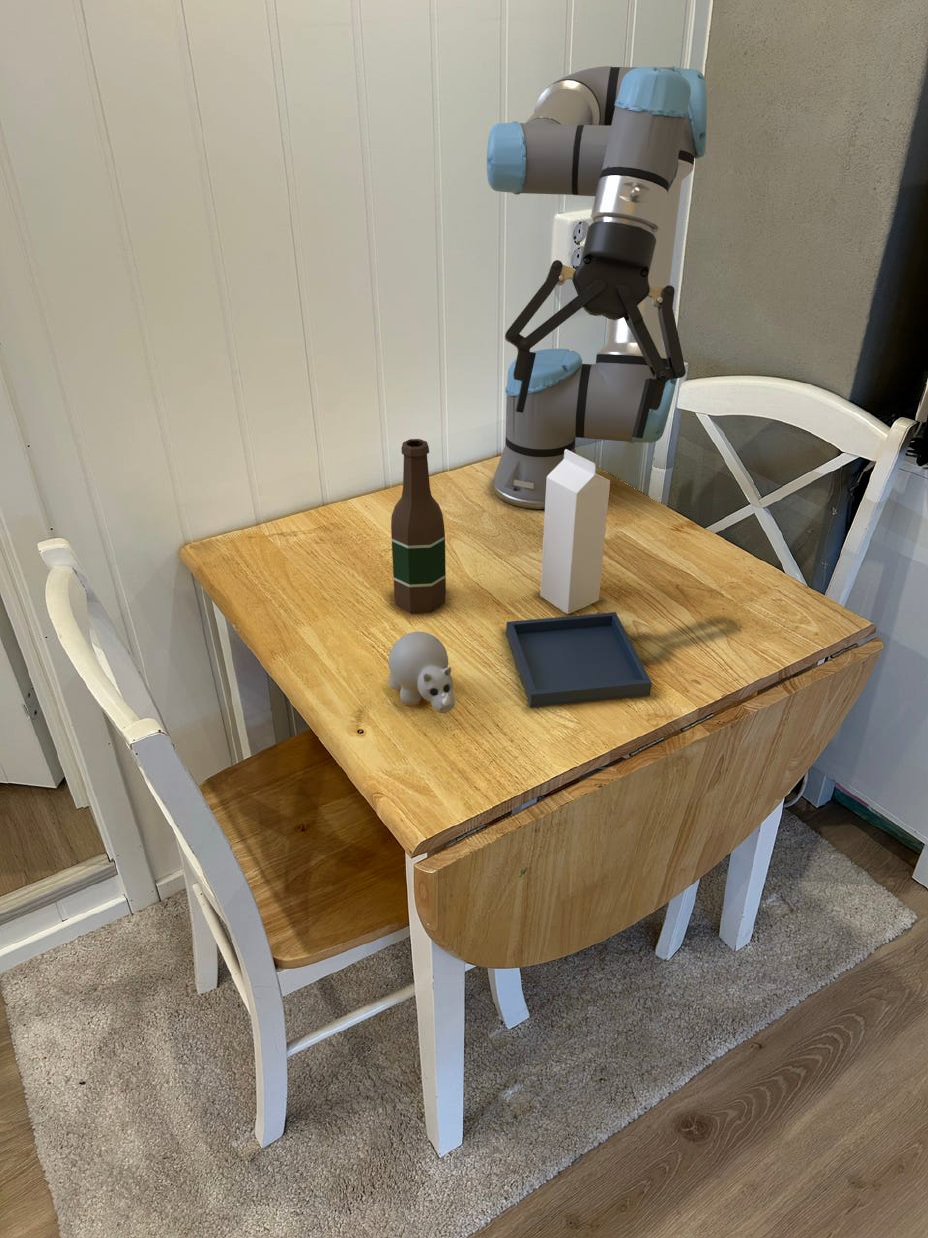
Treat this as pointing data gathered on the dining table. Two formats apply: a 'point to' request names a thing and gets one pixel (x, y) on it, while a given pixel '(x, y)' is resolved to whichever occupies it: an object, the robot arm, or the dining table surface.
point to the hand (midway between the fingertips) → (578, 425)
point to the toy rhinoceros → (421, 671)
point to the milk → (573, 533)
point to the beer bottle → (418, 537)
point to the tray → (576, 660)
